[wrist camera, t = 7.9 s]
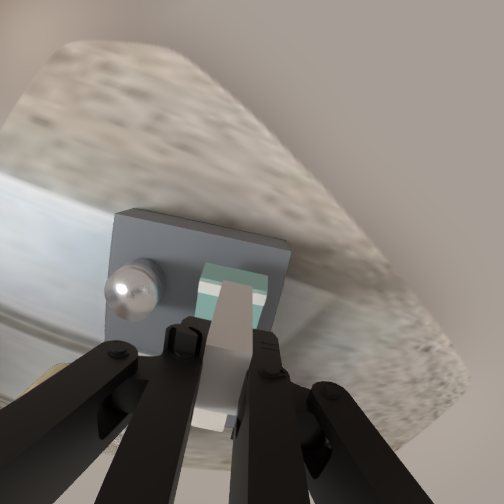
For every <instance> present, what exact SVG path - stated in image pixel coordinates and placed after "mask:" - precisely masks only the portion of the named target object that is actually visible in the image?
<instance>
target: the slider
mask: <svg viewBox="0 0 504 504" xmlns="http://www.w3.org/2000/svg"><path fill="white" fill-rule="evenodd" d="M226 418H227V414H223V413H218V412H213V411H208V410H203V409H199V408H194V412H193V418H192V422H191V426H194V427H199V428H203V429H208V430H214V431H219V432H223V430H224V426H225V422H226Z"/></svg>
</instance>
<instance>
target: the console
mask: <svg viewBox="0 0 504 504" xmlns="http://www.w3.org/2000/svg"><path fill="white" fill-rule="evenodd" d="M291 252H292V251H291V249H290V248H289V246H288V244H287V242H286V241H285V240H280V239H276V238H271V237H267V236H262V235H258V234H253V233H249V232H244V231H240V230H235V229H230V228H226V227H221V226H217V225H212V224H207V223H202V222H198V221H193V220H188V219H184V218H179V217H174V216H169V215H164V214H160V213H155V212H150V211H145V210H140V209H135V208H132V209H129V210H125V211H122V212H119V213H115V217H114V224H113V232H112V240H111V249H110V259H109V270H108V278H109V277H110V276H111V275H112V274H113V273H115V272H116V271H117V270H119V269H120V268H121V267H123V266H124V265H125V264H127V263H128V262H130V261H131V260H133V259H137V258H144V259H148V260H151V261H152V262H154V263H155V264H157V265H158V266H159V267H160V269H161V270H162V272H163V273H164V276H165V279H166V290H165V293H164V295H163V297H162V298H161V299H160V301H159V302H158V304H157V305H156V306H155V308H154V309H153V311H152V312H151V313H150V315H149V316H148V317H146V318H145V319H143V320H140V321H127V320H124V319H122V318H120V317H118V316H117V315H116V314H115V313H114V312H113V311H112V310H111V309H110V307H109V306H108V304H107V301H106V315H105V342H106V341H111V340H121V341H124V342H128V343H130V344H132V345H133V346H135V347H136V349H137V350H138V356H159V355H161V354H162V352H163V348H164V339H165V331H166V328H167V327H168V326H170V325H173V324H181V322H182V320H183V319H185V318H186V317H188V316H193V317H195V310H196V303H197V297H198V287H199V281H200V277H201V274H202V271H203V269H204V266H205V263H206V262H207V263H212V264H216V265H221V266H225V267H230V268H235V269H239V270H244V271H248V272H253V273H258V274H263V275H267V276H268V292H267V297H266V301H265V304H264V306H263V309H262V312H261V315H260V319H259V322H258V325H257V328H256V329H259V330H264V331H269V332H270V331H271V328H272V324H273V320H274V317H275V313H276V309H277V306H278V302H279V298H280V294H281V291H282V287H283V283H284V279H285V276H286V272H287V268H288V264H289V260H290V256H291ZM237 413H238V409H237ZM237 413H236V416H234V415H229V414H227V418H226V422H225V426H224V427H230V428H234V425H235V421H236V418H237Z"/></svg>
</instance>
